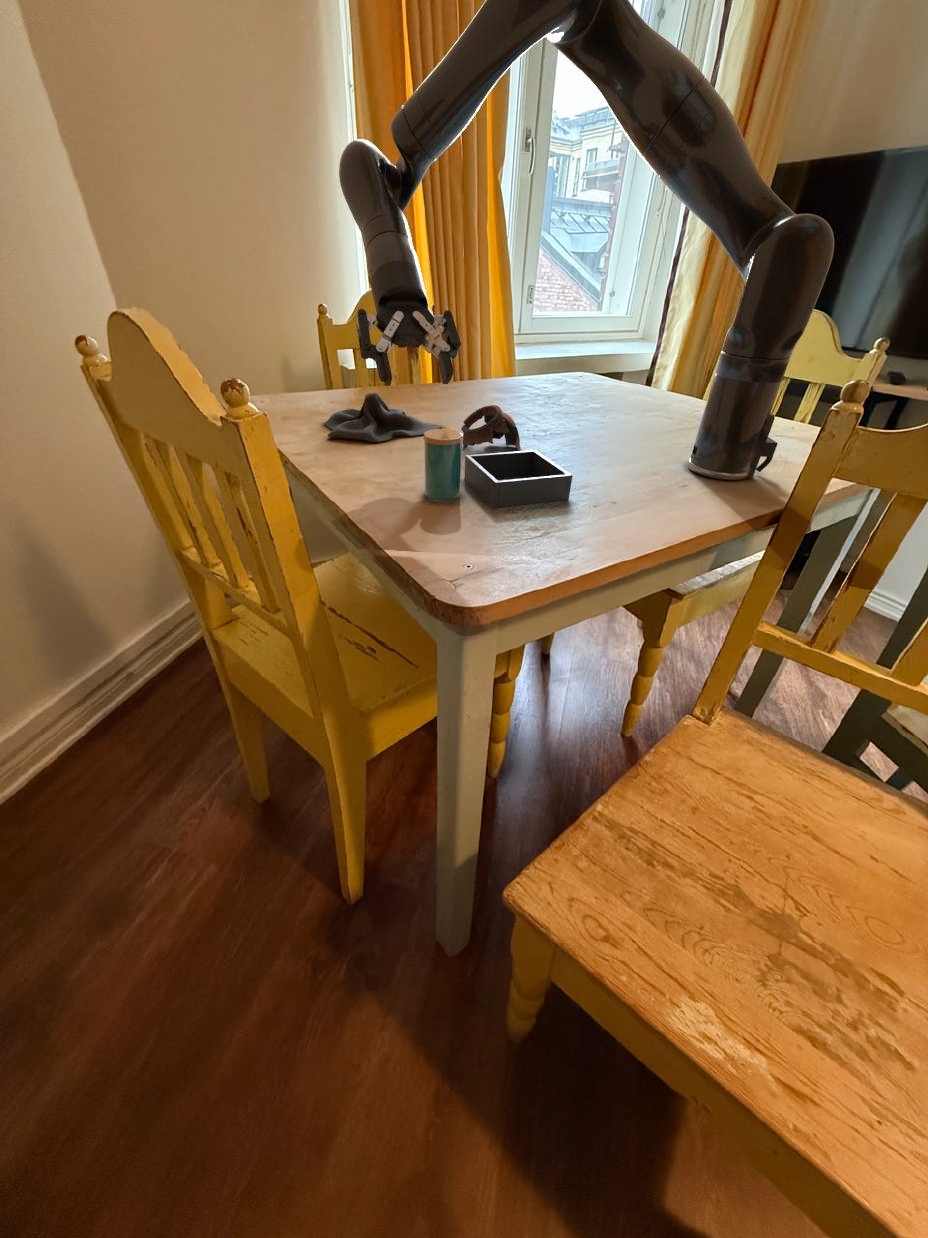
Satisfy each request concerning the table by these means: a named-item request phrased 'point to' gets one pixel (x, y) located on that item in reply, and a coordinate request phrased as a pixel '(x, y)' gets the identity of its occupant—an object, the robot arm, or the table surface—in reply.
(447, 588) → the table surface
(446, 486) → the spice jar
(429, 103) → the robot arm
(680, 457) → the table surface
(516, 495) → the bin
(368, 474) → the table surface
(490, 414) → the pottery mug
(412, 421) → the cloth
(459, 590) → the table surface
